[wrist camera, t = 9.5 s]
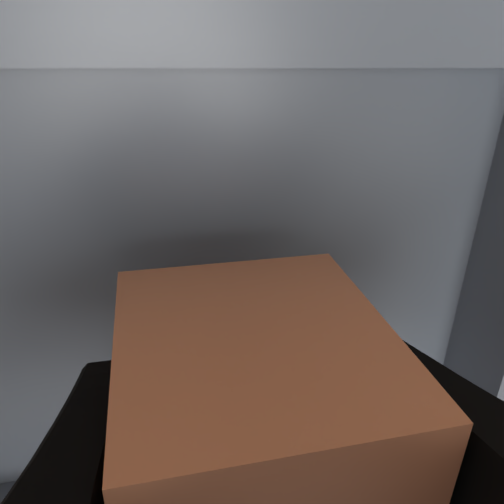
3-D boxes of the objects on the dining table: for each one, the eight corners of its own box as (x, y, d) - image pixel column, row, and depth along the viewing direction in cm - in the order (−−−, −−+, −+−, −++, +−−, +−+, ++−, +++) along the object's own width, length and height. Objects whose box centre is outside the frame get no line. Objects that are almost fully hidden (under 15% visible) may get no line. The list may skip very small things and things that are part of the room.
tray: (-75, 508, 14) (-124, 618, 12) (-305, -17, 8) (-513, -38, 6) (445, 416, 18) (499, 483, 15) (551, 9, 12) (670, 3, 9)
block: (138, 435, 11) (139, 695, 7) (118, 271, 9) (102, 490, 5) (313, 407, 12) (413, 621, 8) (328, 253, 10) (473, 423, 6)
